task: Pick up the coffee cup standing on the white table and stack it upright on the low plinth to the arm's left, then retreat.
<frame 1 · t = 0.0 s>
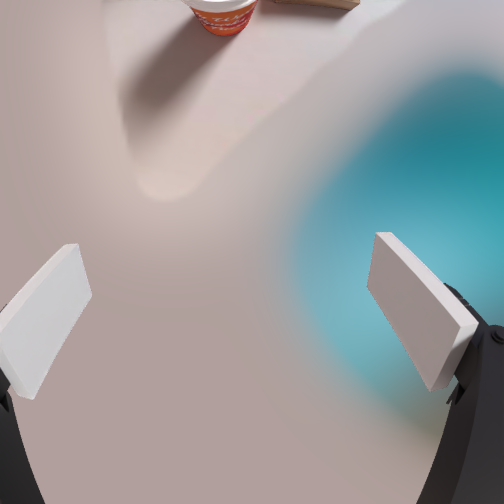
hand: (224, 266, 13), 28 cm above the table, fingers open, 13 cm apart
coffee cup: (226, 16, 30), on the table
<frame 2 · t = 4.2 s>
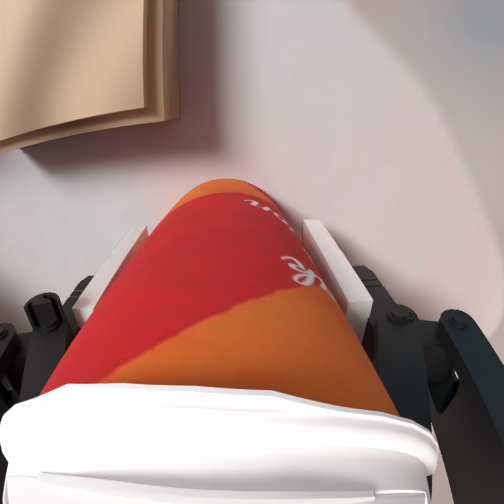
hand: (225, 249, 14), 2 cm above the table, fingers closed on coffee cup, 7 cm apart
plinth: (84, 41, 11), on the table
coffee cup: (226, 230, 17), on the table, touching gripper
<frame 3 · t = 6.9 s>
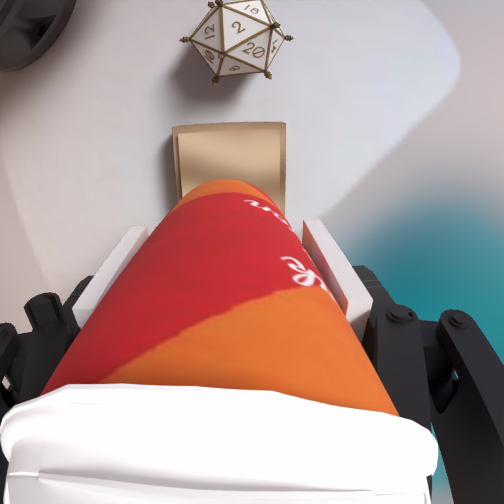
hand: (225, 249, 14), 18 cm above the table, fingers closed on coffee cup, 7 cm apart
plinth: (231, 171, 31), on the table
game die: (238, 46, 26), on the table
coffee cup: (226, 231, 17), point 16 cm above the table, touching gripper
when the fingers open (8 cm above the table, at t = 9.5 s): coffee cup drops 1 cm, resting on plinth.
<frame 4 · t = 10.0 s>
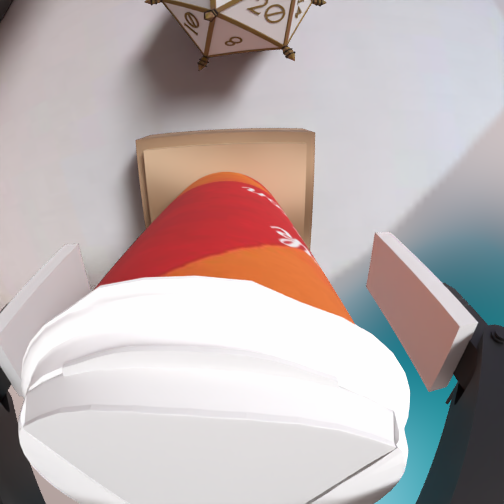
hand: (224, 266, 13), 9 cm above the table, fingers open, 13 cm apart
plinth: (228, 202, 21), on the table
game die: (239, 16, 16), on the table
coffee cup: (226, 220, 18), point 4 cm above the table, touching plinth
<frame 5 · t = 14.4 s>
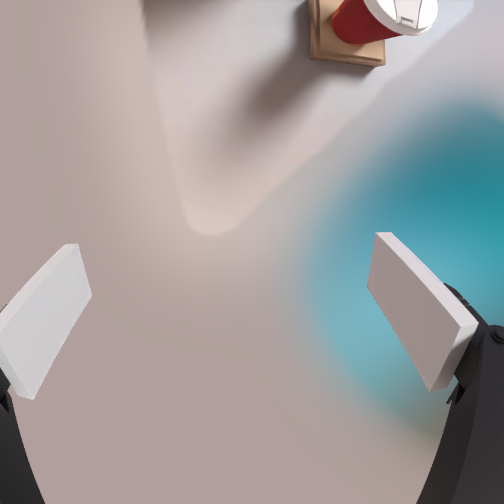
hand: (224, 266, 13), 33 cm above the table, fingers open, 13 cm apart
plinth: (343, 31, 35), on the table
coffee cup: (351, 25, 31), point 4 cm above the table, touching plinth
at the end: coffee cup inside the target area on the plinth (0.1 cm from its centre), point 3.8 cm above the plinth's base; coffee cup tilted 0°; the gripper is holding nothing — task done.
